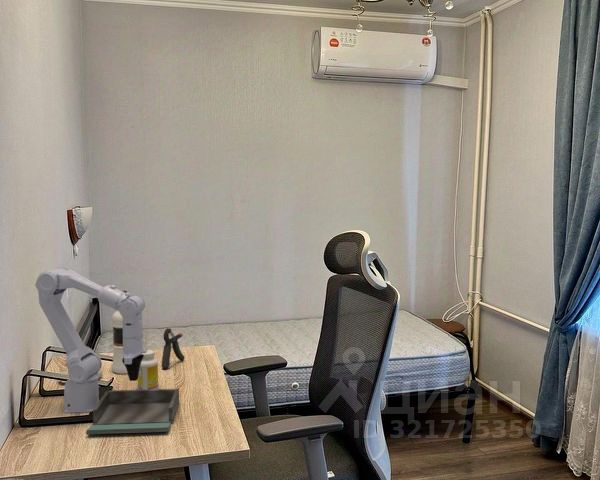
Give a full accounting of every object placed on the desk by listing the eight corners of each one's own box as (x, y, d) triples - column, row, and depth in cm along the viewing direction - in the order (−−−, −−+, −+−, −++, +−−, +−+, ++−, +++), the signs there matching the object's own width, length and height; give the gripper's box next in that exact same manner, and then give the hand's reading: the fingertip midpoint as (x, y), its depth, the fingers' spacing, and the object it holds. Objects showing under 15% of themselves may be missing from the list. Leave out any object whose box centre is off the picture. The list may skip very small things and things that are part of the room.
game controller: (103, 366, 194) (99, 369, 185) (103, 378, 194) (99, 382, 184) (60, 368, 191) (55, 371, 181) (60, 381, 190) (54, 385, 181)
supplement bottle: (161, 386, 183) (160, 349, 181) (154, 393, 176) (153, 355, 175) (142, 385, 183) (141, 348, 182) (134, 392, 177) (133, 354, 176)
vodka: (127, 376, 192) (125, 294, 190) (106, 372, 196) (104, 292, 193) (143, 368, 201) (141, 289, 198) (123, 365, 204) (121, 287, 202)
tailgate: (92, 429, 149) (86, 434, 144) (92, 425, 149) (86, 430, 144) (170, 426, 151) (167, 431, 146) (170, 422, 151) (167, 427, 146)
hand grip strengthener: (185, 360, 210) (185, 323, 209) (166, 370, 199) (165, 331, 197) (180, 360, 211) (180, 322, 210) (161, 369, 200) (160, 330, 198)
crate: (92, 427, 150) (92, 410, 150) (106, 406, 165) (106, 390, 165) (172, 424, 153) (172, 407, 152) (179, 404, 167) (178, 388, 167)
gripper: (141, 342, 154) (142, 388, 155) (150, 329, 168) (151, 371, 169) (116, 343, 153) (117, 389, 154) (127, 330, 168) (128, 372, 169)
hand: (133, 380), depth 162 cm, fingers closed
